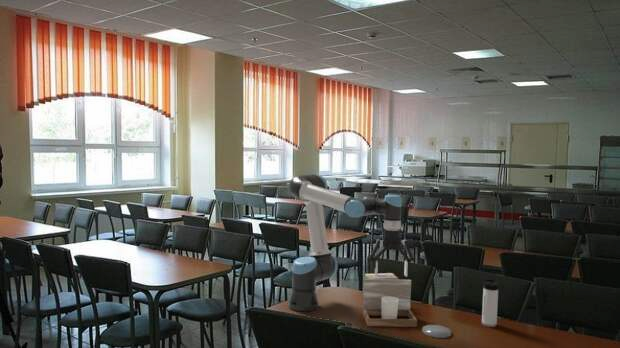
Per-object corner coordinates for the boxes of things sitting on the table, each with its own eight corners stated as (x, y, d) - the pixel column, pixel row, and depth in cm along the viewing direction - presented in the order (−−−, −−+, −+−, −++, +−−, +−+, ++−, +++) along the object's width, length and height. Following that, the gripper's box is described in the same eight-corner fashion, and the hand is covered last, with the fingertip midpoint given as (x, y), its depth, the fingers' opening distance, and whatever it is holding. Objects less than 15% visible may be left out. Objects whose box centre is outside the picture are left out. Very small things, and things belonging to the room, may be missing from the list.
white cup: (397, 324, 209) (398, 302, 208) (379, 322, 210) (380, 301, 209) (397, 318, 216) (398, 297, 216) (380, 316, 218) (381, 295, 217)
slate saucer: (419, 326, 206) (419, 324, 206) (445, 327, 207) (446, 324, 207) (426, 337, 195) (426, 335, 194) (455, 338, 195) (455, 336, 195)
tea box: (391, 300, 241) (393, 272, 240) (398, 307, 231) (399, 278, 230) (363, 301, 239) (364, 272, 238) (368, 308, 229) (369, 278, 228)
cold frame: (362, 313, 221) (363, 278, 220) (408, 314, 221) (410, 279, 220) (367, 325, 206) (368, 288, 205) (416, 326, 206) (418, 289, 205)
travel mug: (496, 322, 213) (498, 279, 212) (496, 328, 207) (499, 283, 206) (481, 320, 215) (483, 278, 214) (481, 325, 209) (483, 282, 208)
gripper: (366, 230, 206) (364, 277, 208) (421, 231, 207) (420, 278, 208) (363, 227, 214) (362, 273, 215) (417, 228, 215) (416, 273, 216)
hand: (390, 275), depth 212 cm, fingers open, 13 cm apart
